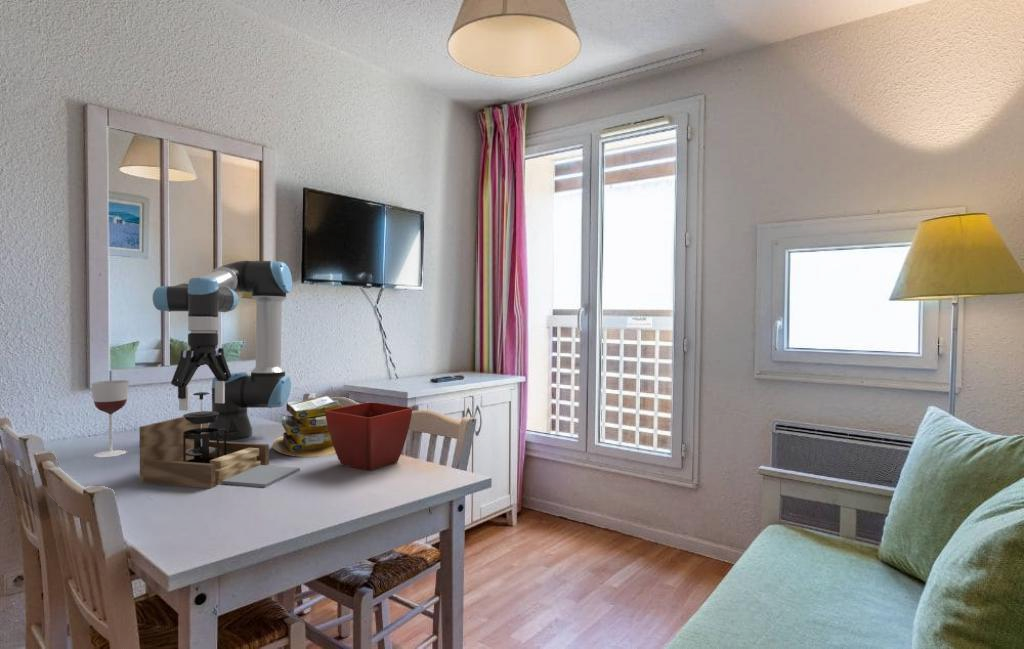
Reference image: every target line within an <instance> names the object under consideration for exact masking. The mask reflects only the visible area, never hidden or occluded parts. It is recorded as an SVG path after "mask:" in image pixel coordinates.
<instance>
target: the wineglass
mask: <svg viewBox="0 0 1024 649" xmlns="http://www.w3.org/2000/svg"><path fill="white" fill-rule="evenodd" d="M129 386H130V381H129V380H125V379H123V380H104V381H103V380H102V381H96V382H91V394H92V401H93V404H94V406H95V408H96V409H98V410H99V411H101V412H104V413H105V414H108V431H109V432H108V442H109V443H108V444H109V446H108V447H109V448H108V449H109V450H105V451H102V452H99V453H98V452H97V453H95V454H94V455H93V456H94V458H95V457H96V458H109V457H111V458H112V457H118V456H121V454H122V455H125V454H127V453H126V451H127V450H123V449H121V450H113V448H114V446H113V444H114V443H113V440H114V439H113V436H114V435H113V432H114V430H113V414H114V413H116V412H117V411H119V410H121V409H122V408H124V406H125V405H126V404H127V401H128V396H129V389H130V388H129ZM122 450H123V451H122Z"/></svg>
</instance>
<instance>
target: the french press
mask: <svg viewBox="0 0 1024 649" xmlns="http://www.w3.org/2000/svg"><path fill="white" fill-rule="evenodd" d="M192 395H193V396H199V398H198V400H200V411H194V412H193V411H192V412H188V413H183V416H182V417H185V418H186V420H187V421H190V422H191V423H193V424H201V428H198V429H191V430H187V431H184V432H183V462H195V463H208V464H210V460H212V459H216V458H215V457H209V454H213V453H216V452H217V458H219V441H220V440H219V431H224V440H223V441H224V456H225V455H226V442H227V440H226V429H217V428H202V424H206V423H209V424H210V423H212V422H216V421H217V415H219V412H214V411H212V410H209V411H208V410H206V411H205V410H204V411H203V400H204V396H207V395H210V392H207V391H205V392H203V391H201V392H194V393H192ZM204 432H212V433H206V434H202V433H204ZM215 436H217V440H216V441H217V448H215V447H209V441H210V439H209V438H211V437H215ZM185 439H194V448H193V449H189V450H186V444H185ZM186 455H187V456H194V459H190V460H187V461H186ZM201 456H202V458H201Z"/></svg>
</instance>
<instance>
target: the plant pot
mask: <svg viewBox="0 0 1024 649" xmlns="http://www.w3.org/2000/svg"><path fill="white" fill-rule="evenodd" d="M412 414H413V407H409V406H403V405H402V406H401V405H396V404H389V403H382V402H381V403H380V402H374V401H368V402H362V403H359V404H358V403H356V404H352V405H346V406H342V407H340V408H335V409H330V410H325V415H326V421H327V425H328V429H329V433H330V437H331V440H332V443H333V446H334V449H335V452H336V453H335V454H336V456H337V459H338V461H339V464H340V465H342V466H345V467H346V466H347V467H351V468H354V469H355V468H356V469H360V470H363V471H372V470H376V469H378V468H381V467H384V466H387V465H391V464H393V463H396V462H398V461H399V459H400V458H401V454H402V451H403V449H404V446H405V443H406V440H407V436H408V432H409V429H410V425H411V420H412V416H413V415H412Z"/></svg>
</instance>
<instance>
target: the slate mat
mask: <svg viewBox="0 0 1024 649" xmlns="http://www.w3.org/2000/svg"><path fill="white" fill-rule="evenodd" d="M300 470H301V467H294V466H281V465H280V466H279V465H269V464H268V465H259V466H256V467H254V468H252V469H249V470H247V471H244V472H242V473H240V474H237V475H235V476H232V477H230V478H228V479H225V480H223V481H222V483H221V484H222V485H232V486H233V485H234V486H244V487H245V486H246V487H247V486H248V487H255V488H257V487H258V488H267V487H269V486H272V485H273V484H275V483H278V482H279V481H281V480H284V479H286V478H288V477H289V476H292V475H294V474H296V473H297V472H300Z"/></svg>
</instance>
